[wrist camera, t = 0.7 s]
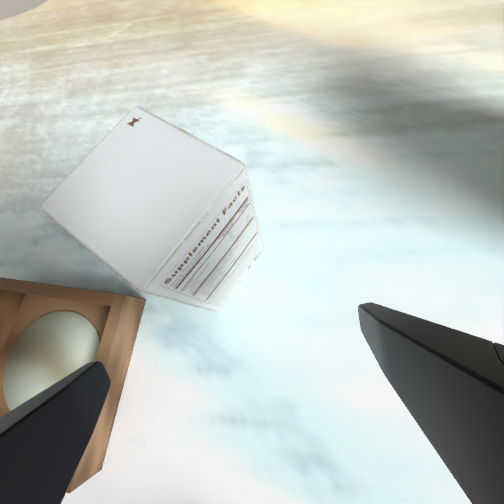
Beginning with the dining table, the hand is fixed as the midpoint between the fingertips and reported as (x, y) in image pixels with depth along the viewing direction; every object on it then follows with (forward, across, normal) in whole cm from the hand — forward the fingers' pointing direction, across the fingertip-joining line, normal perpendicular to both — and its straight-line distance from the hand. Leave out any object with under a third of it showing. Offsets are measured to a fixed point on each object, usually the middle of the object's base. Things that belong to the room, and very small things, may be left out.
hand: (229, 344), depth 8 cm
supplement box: (+15, +3, +1) cm, 15 cm away
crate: (+11, +18, +6) cm, 22 cm away
